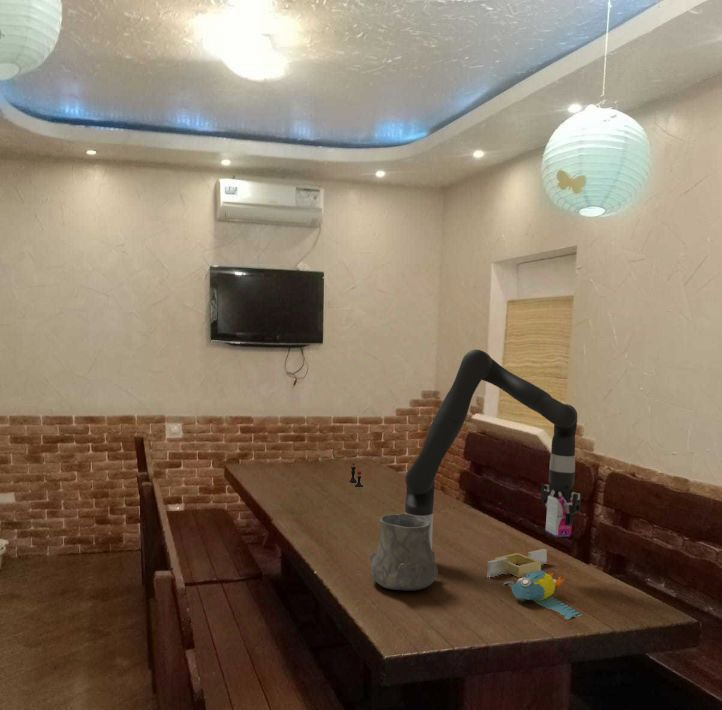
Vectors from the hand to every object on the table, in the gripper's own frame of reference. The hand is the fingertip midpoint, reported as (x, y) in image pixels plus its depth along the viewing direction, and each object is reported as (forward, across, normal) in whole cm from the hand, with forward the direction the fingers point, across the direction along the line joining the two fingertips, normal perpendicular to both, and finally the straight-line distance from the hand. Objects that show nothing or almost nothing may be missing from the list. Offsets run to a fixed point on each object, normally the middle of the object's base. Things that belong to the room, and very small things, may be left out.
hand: (559, 521), depth 199 cm
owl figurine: (+20, +6, -16) cm, 26 cm away
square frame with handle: (+19, -13, -3) cm, 23 cm away
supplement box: (+4, 0, 0) cm, 4 cm away
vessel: (+20, -22, -44) cm, 53 cm away
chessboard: (+21, -143, +19) cm, 146 cm away
